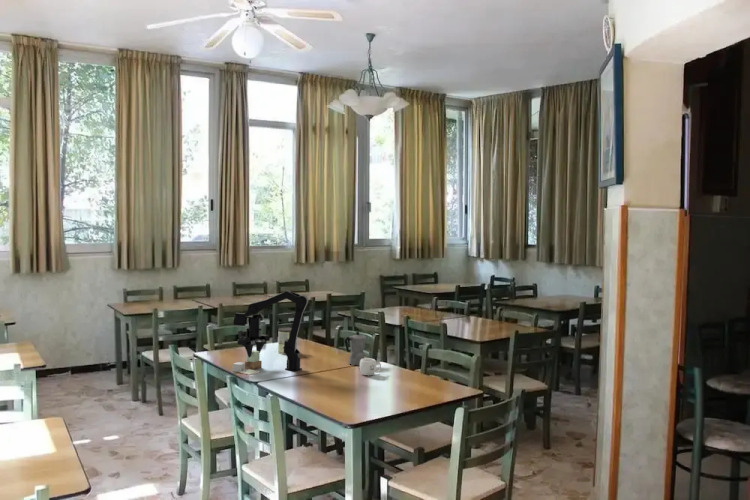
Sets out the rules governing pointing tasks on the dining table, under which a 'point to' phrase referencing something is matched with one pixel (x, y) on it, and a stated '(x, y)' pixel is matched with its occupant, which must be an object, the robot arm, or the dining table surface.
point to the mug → (368, 366)
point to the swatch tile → (249, 372)
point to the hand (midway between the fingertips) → (253, 356)
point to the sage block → (254, 356)
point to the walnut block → (253, 365)
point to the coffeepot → (355, 348)
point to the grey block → (238, 367)
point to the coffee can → (283, 338)
